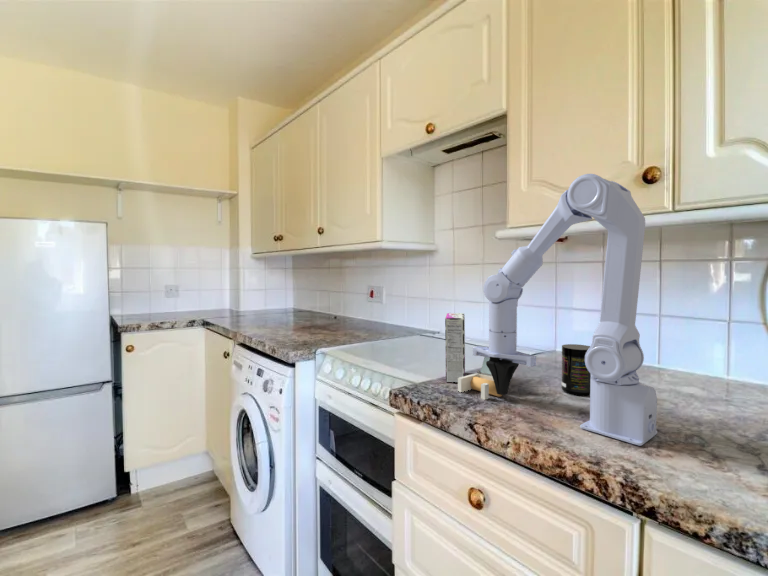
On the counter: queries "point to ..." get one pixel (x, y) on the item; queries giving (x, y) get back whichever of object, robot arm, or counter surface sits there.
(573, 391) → the supplement container
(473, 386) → the tan cylinder roller
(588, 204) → the robot arm
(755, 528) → the counter surface
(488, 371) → the cover flap
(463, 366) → the candy bar box
